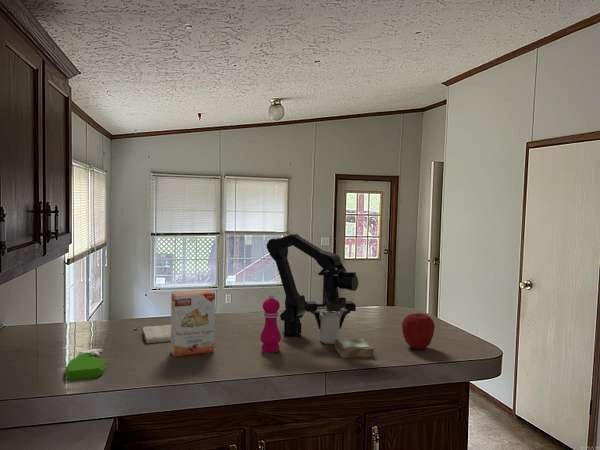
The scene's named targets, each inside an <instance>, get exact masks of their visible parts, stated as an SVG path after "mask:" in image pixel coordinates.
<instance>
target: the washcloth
mask: <svg viewBox="0 0 600 450" xmlns="http://www.w3.org/2000/svg"><path fill="white" fill-rule="evenodd" d="M142 330H143V338H144V342H145V343H146V344H157V343H168V342H171V324H164V325H149V326H144V327H142Z"/></svg>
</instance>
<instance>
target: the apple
mask: <svg viewBox="0 0 600 450" xmlns="http://www.w3.org/2000/svg"><path fill="white" fill-rule="evenodd" d="M401 328H402V330H401V331H402V335H403V338H404V340H405V343H406V344H407V345H408V346H409V347H411V348H412V349H415V350H419V351H420V350H425V349H426V348H427V347H428V346H430V344H431V342H432V339H433V337H434V334H435V328H436V327H435V322H434V319H432V317H430V315H429V314H426V313H420V312H418V313H410V314H408V315H406V316H405V317H404V318H403V319H402V323H401Z"/></svg>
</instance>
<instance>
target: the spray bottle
mask: <svg viewBox="0 0 600 450" xmlns="http://www.w3.org/2000/svg"><path fill="white" fill-rule="evenodd" d="M77 352H78V353H77V354H78V356H76V357H74V358H72V359H71V360H70V361H69V362H68V364H67V365H66V367H65V372H64V373H65V377H66V379H67V380H68V381H73V380H84V379H93V378H94V379H95V378H98V377H101V376H102V375H103V374H104V371H105V367H106V361H105V360H104V359H103V358H101V357H96V356H94V355H97V356H100V355H101V353H103V348H94V349H93V348H92V349H83V350H78V351H77Z"/></svg>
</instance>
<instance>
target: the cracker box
mask: <svg viewBox="0 0 600 450" xmlns="http://www.w3.org/2000/svg"><path fill="white" fill-rule="evenodd" d="M170 297H171V300H170V301H171V303H170V305H171V307H170V308H171V309H170V311H171V313H170V325H171V341H170V353H171V354H172V356H173V357H179V356H189V355H190V356H191V355H197V354H205V353H213V352H214V349H215V320H216V319H215V313H216V312H215V311H216V293H215V292H213V291H212V290H210V289H209V290H198V291H179V292H171V296H170Z"/></svg>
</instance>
